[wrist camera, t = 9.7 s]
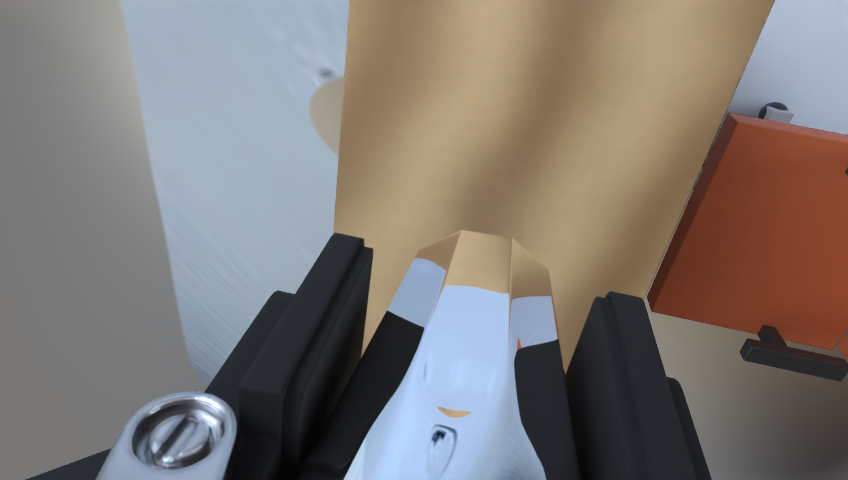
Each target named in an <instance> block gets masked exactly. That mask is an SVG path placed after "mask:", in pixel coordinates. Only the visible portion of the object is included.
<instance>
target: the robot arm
mask: <svg viewBox="0 0 848 480" xmlns="http://www.w3.org/2000/svg"><path fill="white" fill-rule="evenodd" d="M364 245H365V243H364V238H360V237H355V236H350V235H345V234H341V233H334V234H333V235H332V236H331V238H330V240H329V241H328V243H327V244H326V246H325V247H324V249H323V251H322V252H321V254H320V255H319V257H318V259H317V260H316V262H315V263H314V265H313V267H312V268H311V270H310V271H309V273H308V275H307V276H306V278H305V279H304V281H303V283H302V284H301V286H300V287H299V289H298V291H297V292H296V294H291V293H286V292H282V291H276V292H274V293H273V294H272V295H271V296H270V298H269V299H268V301H267V302H266V303H265V305H264V306H263V308H262V309H261V311H260V312H259V314H258V315H257V317H256V318H255V319H254V321H253V322H252V324H251V325H250V327H249V328H248V330H247V331H246V332H245V334H244V335H243V337H242V338H241V340H240V341H239V343H238V344H237V346H236V347H235V348H234V350H233V351H232V353H231V354H230V356H229V357H228V359H227V360H226V362H225V363H224V364H223V366H222V367H221V369H220V370H219V372H218V373H217V375H216V376H215V377H214V379H213V380H212V382H211V383H210V385H209V386H208V388H207V389H206V391H205V392H204V393H203V392H198V391H191V392H190V391H189V392H178V393H173V394H169V395H165V396H162V397H160V398H158V399H156V400H154V401H152V402H150V403H148V404H146V405H145V406H143V407H142V408H141V409H139V410H138V411H137V412H136V413H134V414H133V415H132V416H131V418H130V419H129V420H128V422H127V423H126V424H125V426H124V427H123V429H122V430H121V432H120V434H119V436H118V438H117V440H116V442H115V443H114V445H113V447H112V448H111V449H108V450H105V451H103V452H100V453H97V454H94V455H92V456H89V457H86V458H83V459H81V460H78V461H75V462H73V463H70V464H67V465H64V466H62V467H59V468H56V469H54V470H51V471H48V472H46V473H43V474H40V475H37V476H34V477H32V478H29V479H26V480H290V479H291V478H292V476H293V474H294V473H295V471H296V469H297V468H298V466H299V464H300V463H301V461H302V460H303V458H304V456H305V455H306V453H307V452H308V450H309V448H310V447H311V445H312V444H313V442H314V440H315V439H316V437H317V435H318V434H319V432H320V431H321V429H322V427H323V426H324V424H325V422H326V421H327V419H328V417H329V416H330V414H331V412H332V410H333V409H334V407H335V405H336V403H337V401H338V400H339V398H340V396H341V394H342V392H343V391H344V389H345V387H346V385H347V383H348V381H349V379H350V378H351V376H352V374H353V372H354V370H355V368H356V367H357V365H358V363H359V361H360V359H361V356H362V348H363V339H364V331H365V322H366V313H367V305H368V296H369V288H370V279H371V270H372V262H373V248H370V247H365V246H364ZM565 376H566V382H567V389H568V396H569V402H570V409H571V415H572V422H573V429H574V435H575V442H576V448H577V455H578V461H579V467H580V472H581V477H582V480H712V479H711V476H710V473H709V470H708V467H707V464H706V461H705V458H704V455H703V452H702V448H701V445H700V442H699V439H698V436H697V433H696V430H695V427H694V424H693V421H692V418H691V415H690V411H689V409H688V405H687V402H686V399H685V396H684V393H683V390H682V388H681V386H680V384H679V382H678V381H677V380H676V379H674V378H670V377H666V374H665V371H664V367H663V364H662V361H661V358H660V354H659V351H658V347H657V344H656V340H655V337H654V334H653V330H652V327H651V324H650V320H649V317H648V313H647V310H646V307H645V303H644V301H643V299H642V298H641V297H637V296H632V295H627V294H623V293H618V292H613V291H609V292H608V293H607V295H606V296H605V298H604V297H599V296H597V297H596V298H595V299H594V301H593V303H592V306H591V308H590V311H589V314H588V316H587V319H586V322H585V324H584V327H583V330H582V332H581V335H580V337H579V340H578V343H577V345H576V348H575V351H574V353H573V356H572V358H571V361H570V364H569V366H568V369H567V372H566V374H565Z"/></svg>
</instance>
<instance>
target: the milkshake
mask: <svg viewBox="0 0 848 480" xmlns="http://www.w3.org/2000/svg"><path fill="white" fill-rule="evenodd" d="M290 480H582V477H581V472H580V467H579V461H578V455H577V448H576V442H575V435H574V429H573V422H572V415H571V409H570V402H569V396H568V389H567V382H566V376H565V369H564V362H563V355H562V349H561V342H560V335H559V329H558V322H557V316H556V310H555V305H554V299H553V293H552V287H551V281H550V274H549V270H548V268H547V267H546V266H545V265H543V264H542V263H541V262H540V261H539V260H538V259H536V258H535V257H534V256H533V255H532V254H531V253H529V252H528V251H527V250H526V249H525V248H524V247H523V246H521V245H520V244H519V243H518V242H517V241H516V240H515V239H513V238H512V237H508V236H501V235H494V234H487V233H480V232H474V231H467V230H460V231H458V232H456V233H454V234H451V235H449V236H447V237H445V238H443V239H441V240H438V241H436V242H434V243H432V244H430V245H427V246H425V247H423V248H421V249H420V250H419V251H418V252H417V254H416V256H415V258H414V260H413V262H412V263H411V265H410V267H409V269H408V271H407V273H406V275H405V277H404V278H403V280H402V282H401V284H400V286H399V288H398V290H397V292H396V293H395V295H394V297H393V299H392V301H391V303H390V305H389V307H388V309H387V310H386V312H385V314H384V316H383V318H382V320H381V322H380V324H379V325H378V327H377V329H376V331H375V333H374V335H373V337H372V339H371V340H370V342H369V344H368V346H367V348H366V350H365V352H364V353H363V355H362V357H361V359H360V361H359V363H358V365H357V367H356V368H355V370H354V372H353V374H352V376H351V378H350V379H349V381H348V383H347V385H346V387H345V389H344V391H343V392H342V394H341V396H340V398H339V400H338V401H337V403H336V405H335V407H334V409H333V410H332V412H331V414H330V416H329V417H328V419H327V421H326V422H325V424H324V426H323V427H322V429H321V431H320V432H319V434H318V435H317V437H316V439H315V440H314V442H313V444H312V445H311V447H310V448H309V450H308V452H307V453H306V455H305V456H304V458H303V460H302V461H301V463H300V464H299V466H298V468H297V469H296V471H295V473H294V474H293V476H292V478H291V479H290Z"/></svg>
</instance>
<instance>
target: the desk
mask: <svg viewBox="0 0 848 480" xmlns="http://www.w3.org/2000/svg"><path fill="white" fill-rule="evenodd" d="M774 1H775V0H350V2H349V17H348V31H347V45H346V60H345V74H344V88H343V102H342V118H341V131H340V145H339V159H338V174H337V188H336V202H335V217H334V231H333V234H334V233H341V234H345V235H350V236H355V237H360V238H364V243H365V245H364V246H365V247H370V248H373V262H372V270H371V279H370V288H369V296H368V305H367V313H366V322H365V331H364V339H363V348H362V355H363V353H364V352H365V350H366V348H367V346H368V344H369V342H370V340H371V339H372V337H373V335H374V333H375V331H376V329H377V327H378V325H379V324H380V322H381V320H382V318H383V316H384V314H385V312H386V310H387V309H388V307H389V305H390V303H391V301H392V299H393V297H394V295H395V293H396V292H397V290H398V288H399V286H400V284H401V282H402V280H403V278H404V277H405V275H406V273H407V271H408V269H409V267H410V265H411V263H412V262H413V260H414V258H415V256H416V254H417V252H418V251H419V250H420V249H421V248H423V247H425V246H427V245H430V244H432V243H434V242H436V241H438V240H441V239H443V238H445V237H447V236H449V235H451V234H454V233H456V232H458V231H460V230H467V231H474V232H480V233H487V234H494V235H501V236H508V237H512V238H513V239H515V240H516V241H517V242H518V243H519V244H520V245H521V246H523V247H524V248H525V249H526V250H527V251H528V252H529V253H531V254H532V255H533V256H534V257H535V258H536V259H538V260H539V261H540V262H541V263H542V264H543V265H545V266H546V267H547V268H548V270H549V274H550V281H551V287H552V293H553V299H554V305H555V310H556V316H557V322H558V329H559V335H560V342H561V349H562V355H563V362H564V369H565V374H566V372H567V369H568V366H569V364H570V361H571V358H572V356H573V353H574V351H575V348H576V345H577V343H578V340H579V337H580V335H581V332H582V330H583V327H584V324H585V322H586V319H587V316H588V314H589V311H590V308H591V306H592V303H593V301H594V299H595V298H596V297H597V296H599V297H604V298H605V296H606V295H607V293H608V292H609V291H613V292H618V293H623V294H627V295H632V296H637V297H641V298H642V299H643V300H644V298H645V296H646V293H647V291H648V289H649V286H650V284H651V282H652V280H653V277H654V275H655V273H656V271H657V268H658V266H659V264H660V261H661V259H662V257H663V254H664V252H665V250H666V248H667V245H668V243H669V241H670V238H671V236H672V234H673V232H674V229H675V227H676V225H677V223H678V220H679V218H680V216H681V213H682V211H683V209H684V207H685V204H686V202H687V200H688V197H689V195H690V193H691V191H692V188H693V186H694V184H695V182H696V179H697V177H698V175H699V172H700V170H701V168H702V166H703V163H704V161H705V159H706V156H707V154H708V152H709V150H710V147H711V145H712V143H713V140H714V138H715V136H716V134H717V131H718V129H719V127H720V124H721V122H722V120H723V118H724V115H725V113H726V111H727V108H728V106H729V104H730V102H731V99H732V97H733V95H734V93H735V90H736V88H737V86H738V83H739V81H740V79H741V77H742V74H743V72H744V70H745V67H746V65H747V63H748V61H749V58H750V56H751V54H752V51H753V49H754V47H755V45H756V42H757V40H758V38H759V35H760V33H761V31H762V29H763V26H764V24H765V22H766V19H767V17H768V15H769V13H770V10H771V8H772V6H773V4H774ZM361 357H362V356H361Z"/></svg>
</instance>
